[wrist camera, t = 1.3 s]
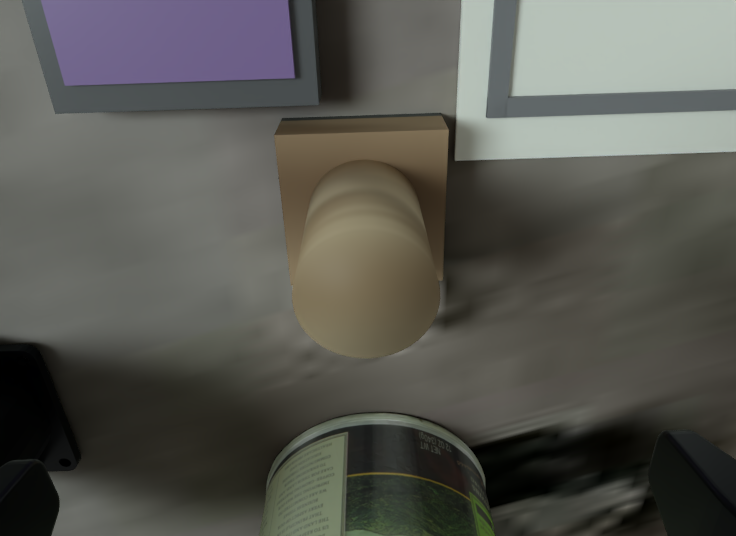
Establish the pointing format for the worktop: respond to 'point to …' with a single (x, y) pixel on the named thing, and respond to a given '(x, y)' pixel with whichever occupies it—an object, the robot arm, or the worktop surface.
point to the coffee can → (376, 481)
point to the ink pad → (176, 53)
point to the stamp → (364, 227)
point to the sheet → (595, 78)
